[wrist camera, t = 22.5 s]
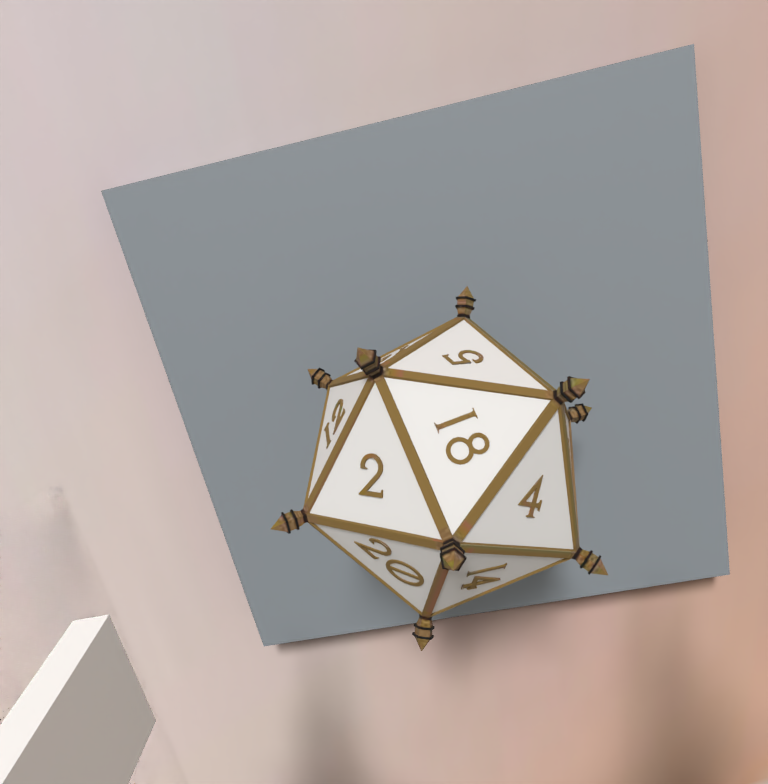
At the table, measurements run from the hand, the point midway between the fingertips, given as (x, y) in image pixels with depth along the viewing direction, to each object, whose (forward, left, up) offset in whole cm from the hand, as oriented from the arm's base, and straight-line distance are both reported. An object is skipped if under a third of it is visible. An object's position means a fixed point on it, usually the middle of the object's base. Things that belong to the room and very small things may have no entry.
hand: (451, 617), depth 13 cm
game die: (0, 0, -12) cm, 12 cm away
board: (0, 0, -13) cm, 13 cm away
